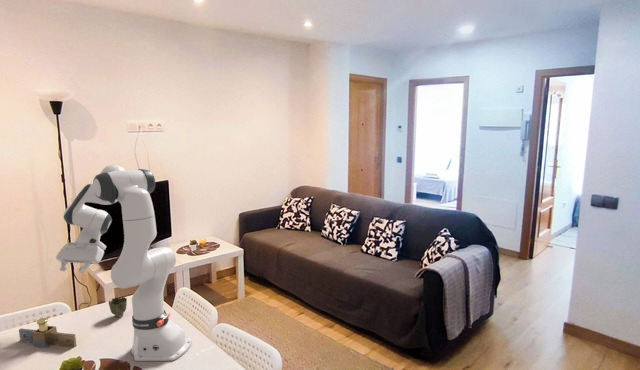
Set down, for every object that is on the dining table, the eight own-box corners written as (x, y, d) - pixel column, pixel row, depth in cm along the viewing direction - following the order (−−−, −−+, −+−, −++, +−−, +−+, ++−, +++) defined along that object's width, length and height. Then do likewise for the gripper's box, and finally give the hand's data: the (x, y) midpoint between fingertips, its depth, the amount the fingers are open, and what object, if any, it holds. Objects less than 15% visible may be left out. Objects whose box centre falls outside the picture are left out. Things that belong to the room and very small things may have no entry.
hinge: (81, 342, 156) (79, 328, 155) (69, 350, 150) (68, 336, 149) (27, 336, 160) (25, 323, 160) (14, 344, 155) (13, 330, 154)
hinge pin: (52, 341, 157) (50, 318, 156) (45, 346, 154) (42, 322, 152) (45, 340, 158) (42, 317, 156) (37, 345, 154) (34, 322, 153)
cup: (120, 321, 173) (119, 304, 172) (106, 319, 174) (104, 302, 173) (131, 313, 180) (130, 297, 179) (117, 311, 182) (116, 295, 180)
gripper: (62, 238, 175) (46, 267, 167) (101, 240, 171) (87, 269, 163) (71, 245, 180) (55, 273, 172) (109, 247, 176) (96, 275, 168)
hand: (71, 271), depth 167 cm, fingers open, 8 cm apart
